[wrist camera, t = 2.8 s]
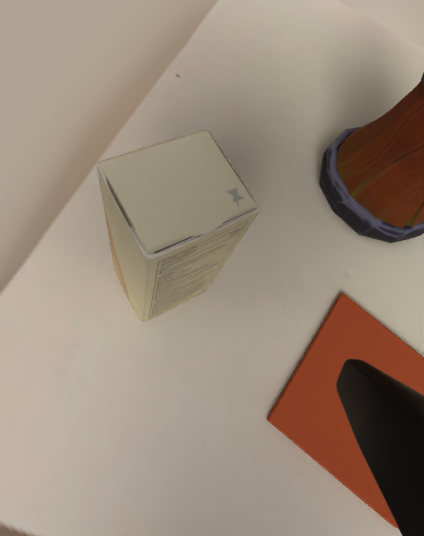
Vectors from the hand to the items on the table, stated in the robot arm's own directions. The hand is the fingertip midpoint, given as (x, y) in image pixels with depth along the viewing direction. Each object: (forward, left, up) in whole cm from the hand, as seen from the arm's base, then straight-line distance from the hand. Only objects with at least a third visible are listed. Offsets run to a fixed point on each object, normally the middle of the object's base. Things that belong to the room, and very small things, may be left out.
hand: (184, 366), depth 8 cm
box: (+5, +4, -13) cm, 14 cm away
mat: (+8, -12, -13) cm, 19 cm away
